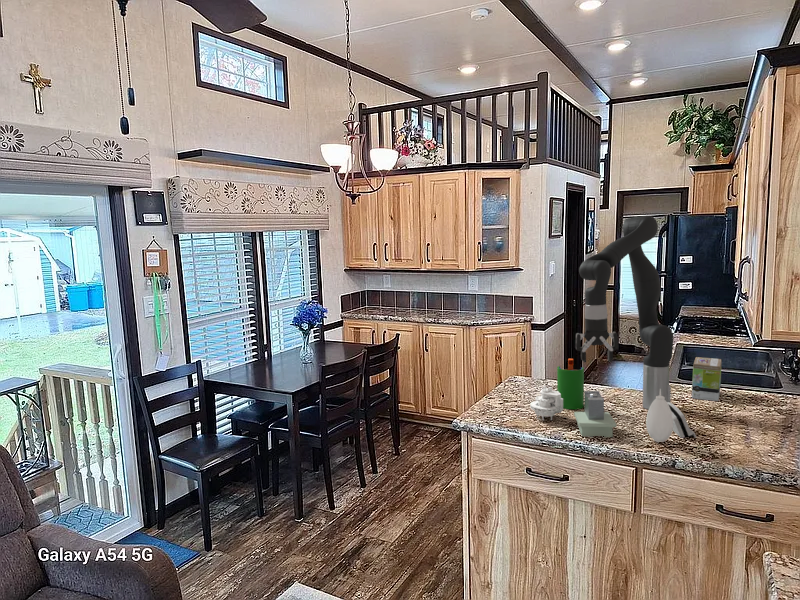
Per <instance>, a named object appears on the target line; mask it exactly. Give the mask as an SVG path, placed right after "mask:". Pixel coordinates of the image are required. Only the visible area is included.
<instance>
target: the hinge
mask: <svg viewBox="0 0 800 600" xmlns="http://www.w3.org/2000/svg"><path fill="white" fill-rule="evenodd" d="M667 403H668V405H669V407H670V410H671V412H672V416H673V430H672V432H674V433H675V434H676V435H677V436H678V437H679V438H681V439H683V438H686V436H688V437H690V436H692V437H693V438H694V439H696V438H697V435H696V433H695V432H694V431H693V430H692V429H691V428H690V426H689V424H688V422H687V421H688V420H687V419H686V416H685V414H684V413H683V412H682V411H681V410H680V409H679V408H678V407H677V406H676V404H673V402H667Z"/></svg>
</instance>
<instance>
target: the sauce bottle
mask: <svg viewBox="0 0 800 600" xmlns="http://www.w3.org/2000/svg"><path fill="white" fill-rule="evenodd" d="M647 410H648V409H647ZM646 414H647V415H646V421H645V422H646V423H645V424H646V431H647V433H648V434H649V438H650V439H652V440H653V441H654V442H656V443H659V442H662V443H664V442H666V441H668V439H669V438H670V437H671V435H672V433H673V416H672V412H671V410H670V407H669V405H668V403H667V402H666V400H665V397H664V396H661V389H660V393H659V396H656V399H655V400H654V401H653V402H652V404H651V406H650V408H649V410H648V411H647V413H646Z"/></svg>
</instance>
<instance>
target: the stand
mask: <svg viewBox="0 0 800 600" xmlns="http://www.w3.org/2000/svg"><path fill="white" fill-rule="evenodd" d="M573 416H574V418H575V420H576V423H577V424H576V425H577V426H578V427H577V428H579V429H578V431H579V432H580V435H581V437H593V436H602V437H603V436H604V437H603V438H613V437H614V436H613V435H614V434H613V433H614V432H613V428H617V423H616V421H615V419H614V418H613V416H612V415H611V414H610V411H609V412H608V411H605V412H604V420H589V419H588V417H587V415H586V413H585V411H573ZM602 437H601V438H602Z"/></svg>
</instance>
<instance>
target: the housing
mask: <svg viewBox="0 0 800 600" xmlns="http://www.w3.org/2000/svg"><path fill="white" fill-rule="evenodd" d="M583 408H584V409H583V410H584V411H583V412H585V413H586V415H587V417H588V419H589V420H604V411H605V398H604V397H603V396H602V395H601V394H600V391H599V390H584V407H583Z"/></svg>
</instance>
